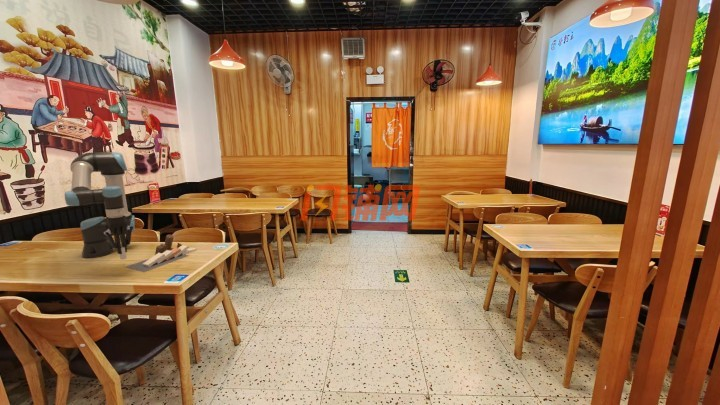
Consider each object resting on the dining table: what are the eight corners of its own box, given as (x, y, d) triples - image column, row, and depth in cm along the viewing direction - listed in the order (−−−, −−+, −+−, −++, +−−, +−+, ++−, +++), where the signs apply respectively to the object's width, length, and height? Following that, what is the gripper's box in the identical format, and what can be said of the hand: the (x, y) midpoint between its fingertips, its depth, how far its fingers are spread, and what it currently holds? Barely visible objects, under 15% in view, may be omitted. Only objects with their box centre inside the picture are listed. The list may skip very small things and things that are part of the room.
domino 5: (182, 252, 181) (196, 248, 190) (177, 251, 183) (191, 247, 192) (182, 255, 181) (197, 250, 191) (177, 254, 183) (191, 249, 192)
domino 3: (161, 259, 174) (175, 249, 182) (166, 260, 172) (181, 250, 180) (160, 257, 174) (174, 247, 182) (165, 258, 172) (180, 248, 180)
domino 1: (148, 264, 163) (164, 253, 171) (142, 263, 165) (158, 252, 173) (149, 267, 163) (165, 256, 171) (143, 265, 165) (159, 254, 173)
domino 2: (157, 261, 167) (172, 251, 175) (151, 260, 169) (167, 250, 177) (158, 263, 168) (173, 253, 176) (152, 262, 170) (168, 252, 178)
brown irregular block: (160, 260, 181) (163, 246, 178) (149, 254, 182) (152, 240, 179) (183, 249, 198) (186, 236, 195) (173, 243, 200) (176, 231, 196)
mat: (124, 268, 164) (124, 267, 164) (170, 252, 188) (170, 251, 188) (144, 273, 157) (144, 272, 157) (189, 256, 181) (189, 255, 181)
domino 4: (174, 255, 176) (187, 246, 184) (168, 254, 178) (182, 245, 186) (175, 257, 177) (188, 248, 185) (169, 256, 179) (183, 247, 187)
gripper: (105, 219, 143) (113, 264, 147) (134, 214, 154) (140, 255, 159) (96, 218, 145) (104, 262, 150) (125, 212, 157) (132, 253, 162)
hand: (123, 258), depth 155 cm, fingers closed
